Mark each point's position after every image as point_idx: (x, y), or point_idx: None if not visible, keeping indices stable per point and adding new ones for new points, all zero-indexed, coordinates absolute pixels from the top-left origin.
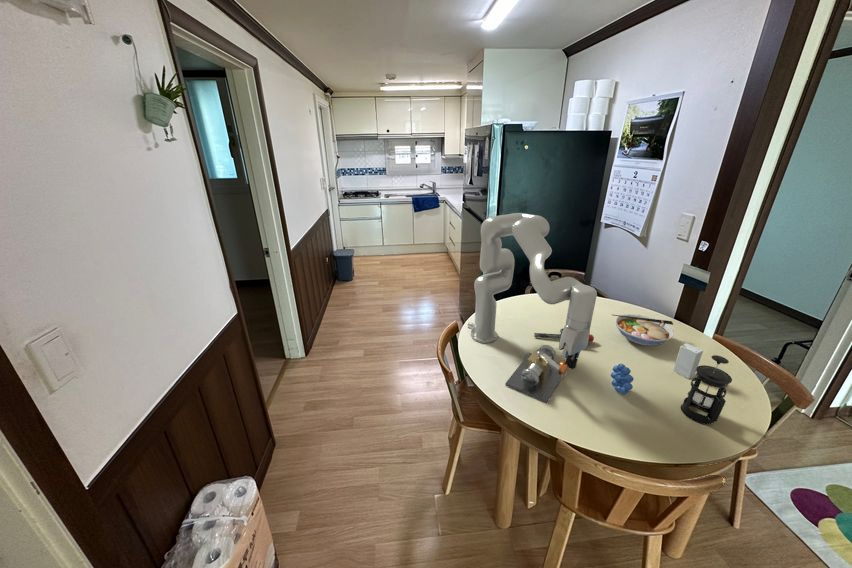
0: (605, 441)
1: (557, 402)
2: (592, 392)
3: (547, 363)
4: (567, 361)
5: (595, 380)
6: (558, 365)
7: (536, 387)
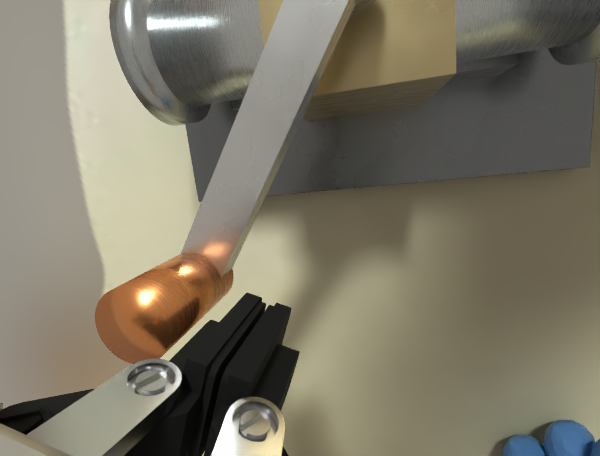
0: None
1: None
2: (429, 342)
3: (320, 93)
4: (186, 353)
5: (553, 336)
6: (240, 227)
7: None
